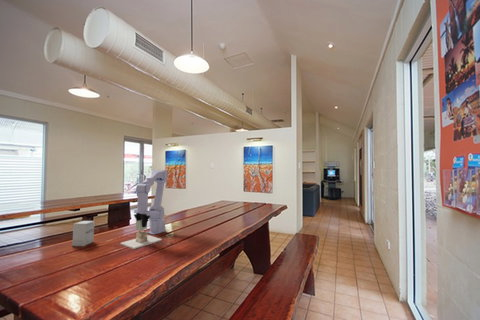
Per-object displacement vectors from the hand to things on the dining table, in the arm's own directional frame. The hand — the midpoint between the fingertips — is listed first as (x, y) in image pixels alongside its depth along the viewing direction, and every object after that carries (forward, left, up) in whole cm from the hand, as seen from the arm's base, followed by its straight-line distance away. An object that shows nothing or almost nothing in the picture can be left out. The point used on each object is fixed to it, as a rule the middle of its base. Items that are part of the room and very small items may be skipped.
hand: (141, 226), depth 127 cm
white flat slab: (0, +1, -9) cm, 9 cm away
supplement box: (+21, -24, -10) cm, 34 cm away
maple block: (0, +1, -8) cm, 9 cm away
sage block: (0, 0, -2) cm, 2 cm away
